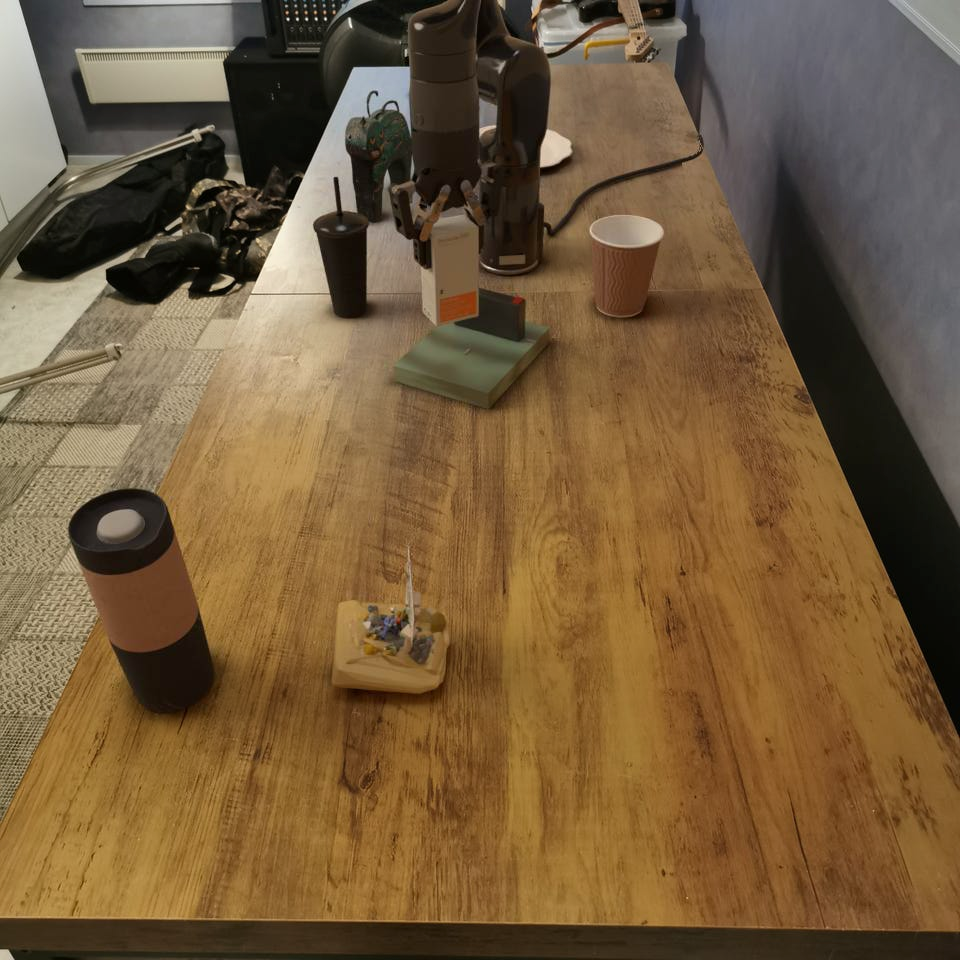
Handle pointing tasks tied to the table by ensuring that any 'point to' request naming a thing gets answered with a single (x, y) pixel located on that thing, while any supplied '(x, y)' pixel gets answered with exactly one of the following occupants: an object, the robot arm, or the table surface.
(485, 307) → the black battery pack
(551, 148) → the plate
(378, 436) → the table surface
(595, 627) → the table surface
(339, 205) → the drinking cup
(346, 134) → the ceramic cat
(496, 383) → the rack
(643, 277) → the coffee cup
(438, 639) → the miniature diorama
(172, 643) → the travel mug
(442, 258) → the cosmetic box
